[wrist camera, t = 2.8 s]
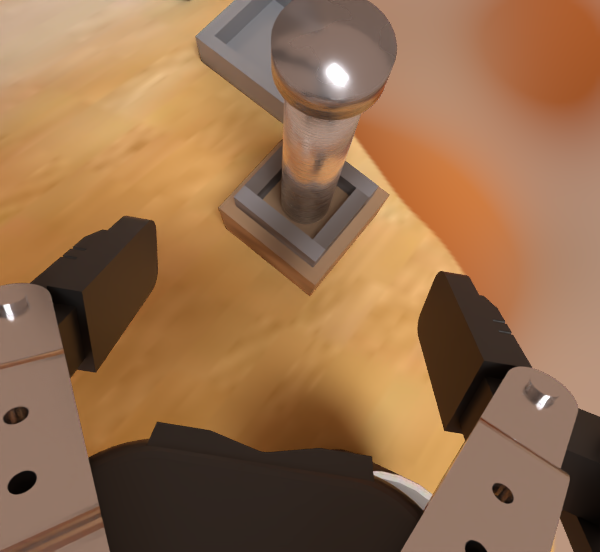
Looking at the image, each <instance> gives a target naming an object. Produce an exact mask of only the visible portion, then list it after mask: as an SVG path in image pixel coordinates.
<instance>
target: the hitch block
mask: <svg viewBox="0 0 600 552" xmlns="http://www.w3.org/2000/svg"><path fill="white" fill-rule="evenodd" d="M282 153H283V139H282V140H281V141H280V142H279V143H278V144H277V146H276V147H275V148H274V149H273V150H272V151H271V152H270V153H269V154H268V155H267V156H266V157H265V158H264V159H263V160H262V162H261V163H260V164H259V165H258V166H257V167H256V168H255V169H254V170H253V171H252V172H251V173H250V174H249V175H248V176H247V178H246V179H245V180H244V181H243V182H242V183H241V184H240V185H239V186H238V187H237V188H236V189H235V190H234V191H233V192H232V194H231V195H230V196H229V197H228V198H227V199H226V200H225V201H224V202H223V203H222V204H221V205H220V206H219V207H218V208H219V211H220V213H221V216H222V219H223V221H224V224H225V227H226V229H228V230H229V231H230V232H231V233H233V234H234V235H235V236H236V237H238V238H239V239H240V240H241V241H242V242H244V243H245V244H246V245H247V246H249V247H250V248H251V249H252V250H254V251H255V252H256V253H257V254H259V255H260V256H261V257H262V258H263V259H265V260H266V261H267V262H268V263H270V264H271V265H272V266H273V267H275V268H276V269H277V270H278V271H280V272H281V273H282V274H283V275H284V276H286V277H287V278H288V279H289V280H291V281H292V282H293V283H294V284H296V285H297V286H298V287H299V288H301V289H302V290H303V291H304V292H305V293H307V294H308V295H309V296H310V295H311V294H312V293H313V291H314V290H315V289H316V288H317V287H318V285H319V284H320V283H321V282H322V281H323V279H324V278H325V277H326V276H327V274H328V273H329V272H330V271H331V270H332V268H333V267H334V266H335V265H336V263H337V262H338V261H339V260H340V259H341V257H342V256H343V255H344V254H345V252H346V251H347V250H348V249H349V248H350V246H351V245H352V244H353V243H354V241H355V240H356V239H357V238H358V237H359V235H360V234H361V233H362V232H363V230H364V229H365V228H366V227H367V226H368V224H369V223H370V222H371V221H372V220H373V218H374V217H375V216H376V214H377V213H378V211H379V210H380V208H381V207H382V205H383V204H384V202H385V201H386V199H387V198H388V196H389V194H388V193H387V192H385V191H384V190H383V189H381V188H380V187H379V186H378V185H376V184H375V183H374V182H372V181H371V180H370V179H369V178H367V177H366V176H365V175H363V174H362V173H361V172H359V171H358V170H357V169H355V168H354V167H353V166H351V165H350V164H349V163H348V162H346V161H345V162H344V165H343V168H342V171H341V174H340V177H339V180H338V183H337V186H336V189H335V191H334V194H333V197H332V200H331V203H330V206H329V209H328V211H327V213H326V215H325V216H324V217H323V218H322V219H321V220H319V221H317V222H315V223H312V224H300V223H297V222H295V221H293V220H291V219H290V218H289V217H288V216H287V215H286V214H285V212H284V211H283V209H282V205H281V185H282Z"/></svg>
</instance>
